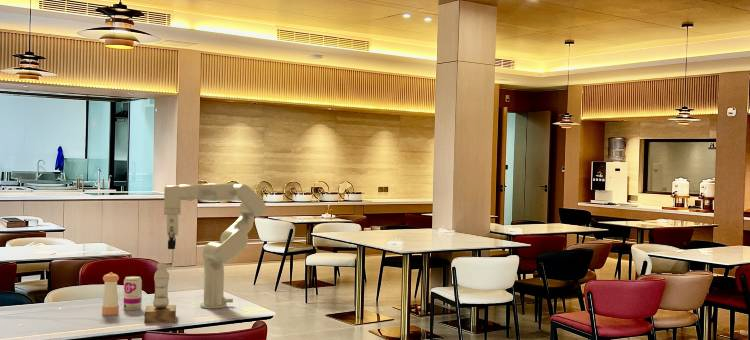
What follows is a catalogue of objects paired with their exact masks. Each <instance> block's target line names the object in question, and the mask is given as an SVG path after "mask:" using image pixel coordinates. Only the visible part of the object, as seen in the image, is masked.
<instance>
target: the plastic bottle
mask: <svg viewBox="0 0 750 340" xmlns="http://www.w3.org/2000/svg"><path fill="white" fill-rule="evenodd" d="M153 280H154V295H153V297H154V298H153V301H152V303H153V306H154V307H155V308H160V309H162V308H166V307H167V306H168V305H170V304H169V302H170V301H169V300H170V299H169V294H168V293H169V292H168V290H169V289H168V287H169V280H170V274H169V272H168V270H167V263H157V269H156V271H155V273H154V275H153Z"/></svg>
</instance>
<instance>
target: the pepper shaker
mask: <svg viewBox="0 0 750 340" xmlns="http://www.w3.org/2000/svg"><path fill="white" fill-rule="evenodd" d="M119 279H120V277H119V275H118V274H116V273H114V272H112V271H111V272H109V273H107V274H104V275H103V277H102V280H103V282H104V292H103V297H102V307H101V314H102V315H103V316H113V315H114V316H115V315H118V314H119V313H120V311H119V310H120V306H119V294H118V281H119Z"/></svg>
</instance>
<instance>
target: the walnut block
mask: <svg viewBox="0 0 750 340" xmlns="http://www.w3.org/2000/svg"><path fill="white" fill-rule="evenodd" d="M144 309H145V310H144V324H154V323H155V324H157V323H158V324H159V323H175V322H176V317H177V316H176V315H177V314H176V313H177V305H176V304H168V306H167V307H166V308H162V309H160V308H155V307H154V305H146V306H145V308H144Z"/></svg>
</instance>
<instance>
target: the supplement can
mask: <svg viewBox="0 0 750 340" xmlns="http://www.w3.org/2000/svg"><path fill="white" fill-rule="evenodd" d="M142 282H143V280H142V278H141V276H136V275H135V276H134V275H132V276H125V278H124V279H123V309H124V310H126V311H137V310H140V309H141V308H142V302H143V301H142V299H143V298H142V296H143V295H142V291H143V290H142V288H143V283H142Z"/></svg>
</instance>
